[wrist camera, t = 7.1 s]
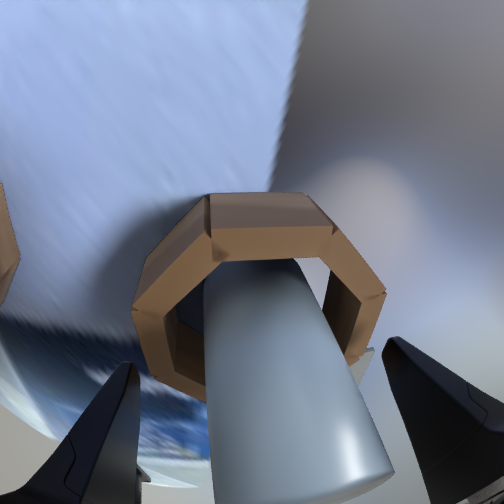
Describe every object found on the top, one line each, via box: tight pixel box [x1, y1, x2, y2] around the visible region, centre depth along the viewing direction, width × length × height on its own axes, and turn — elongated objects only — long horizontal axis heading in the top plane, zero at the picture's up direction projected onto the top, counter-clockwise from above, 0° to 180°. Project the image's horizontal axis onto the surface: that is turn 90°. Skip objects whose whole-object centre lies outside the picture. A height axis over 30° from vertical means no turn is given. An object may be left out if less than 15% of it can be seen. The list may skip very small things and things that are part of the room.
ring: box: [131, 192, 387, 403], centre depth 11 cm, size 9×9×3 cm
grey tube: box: [203, 258, 395, 504], centre depth 9 cm, size 4×4×9 cm
